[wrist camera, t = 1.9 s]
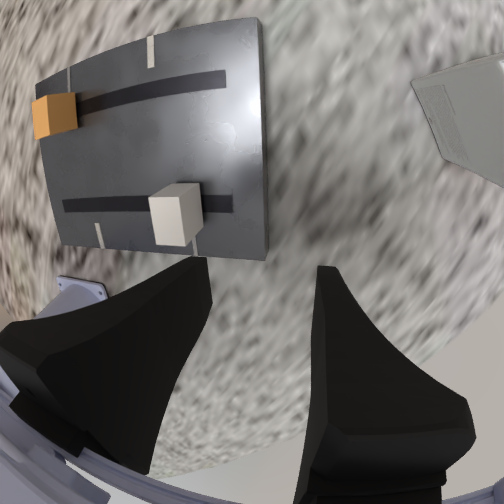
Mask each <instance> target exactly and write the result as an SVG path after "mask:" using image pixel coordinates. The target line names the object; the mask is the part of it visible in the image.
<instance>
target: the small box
mask: <svg viewBox="0 0 504 504" xmlns="http://www.w3.org/2000/svg"><path fill="white" fill-rule="evenodd" d="M411 85H412V86H413V88H414V90H415V92H416V94H417V97H418V99H419V101H420V103H421V105H422V107H423V110H424V112H425V114H426V117H427V119H428V121H429V124H430V126H431V129H432V131H433V134H434V136H435V139H436V141H437V144H438V147H439V149H440V152H441V155H442V158H443V159H445V160H448V161H450V162H452V163H454V164H457V165H459V166H461V167H463V168H465V169H467V170H469V171H472V172H474V173H476V174H478V175H480V176H481V177H483V178H485V179H487V180H489V181H491V182H493V183H495V184H497V185H499V186H500V187H502V188H504V52H503V53H498V54H494V55H490V56H486V57H483V58H479V59H476V60H472V61H469V62H466V63H463V64H460V65H456V66H453V67H450V68H447V69H444V70H441V71H438V72H435V73H432V74H430V75H427V76H424V77H421V78H419V79H416V80H413V81H411Z"/></svg>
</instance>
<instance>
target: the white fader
mask: <svg viewBox="0 0 504 504" xmlns="http://www.w3.org/2000/svg"><path fill="white" fill-rule="evenodd" d="M148 199H149V205H150V211H151V217H152V223H153V229H154V234H155V240H156V245H170V246H185V247H186V246H187V244H188V243H189V242H190V241H191V240H192V239H193V238H194V237H195V236H196V234H197V233H198V232H199V231H200V230H201V229H202V228H203V227H204V225H203V215H202V206H201V196H200V186H199V183H177V184H170V185H168V186H167V187H165V188H163V189H162V190H160V191H158V192H157V193H155V194H153V195H152V196H150V197H148Z"/></svg>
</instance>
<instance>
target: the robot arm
mask: <svg viewBox="0 0 504 504" xmlns="http://www.w3.org/2000/svg"><path fill="white" fill-rule="evenodd" d="M56 280H57V283H58V285H59V288H60V290H61V293H60V294H59V295H58V296H57V297H56V298H55V299H54V300H52V301H51V302H50V303H49V304H48V305H47V306H46V307H45V308H44V309H43V310H42V311H41V312H40V313H39V314H38V315H37V316H36V317H35V318H34V319H32V320H24V321H16V322H12V323H10V324H9V325H7V326H6V327H5V328H4V329H3V330H2V331H1V332H0V504H107V503H108V501H109V499H110V497H111V496H110V494H109V493H107V492H105V491H104V490H102V489H100V488H99V487H97V486H96V485H94V484H92V483H91V482H90V481H88V480H87V479H85V478H84V477H83V476H81V475H80V474H79V473H78V472H76V471H75V470H73V469H72V468H70V467H69V466H67V465H66V461H65V459H66V460H67V461H69V462H70V463H72V464H74V465H75V466H77V467H79V468H80V469H82V470H84V471H86V472H87V473H89V474H91V475H92V476H94V477H96V478H98V479H100V480H102V481H104V482H105V483H107V484H109V485H111V486H113V487H115V488H117V489H119V490H122V491H124V492H126V493H128V494H130V495H132V496H135V497H137V498H139V499H142V500H144V501H146V502H149V503H152V504H241V503H235V502H231V501H226V500H221V499H217V498H213V497H209V496H205V495H201V494H198V493H194V492H191V491H188V490H184V489H181V488H178V487H174V486H172V485H169V484H166V483H163V482H160V481H158V480H155V479H152V478H150V477H147V476H145V475H147V474H149V470H150V465H151V461H152V456H153V452H154V448H155V444H156V440H157V437H158V433H159V430H160V426H161V423H162V420H163V417H164V414H165V411H166V408H167V405H168V402H169V399H170V396H171V394H172V391H173V388H174V386H175V383H176V380H177V378H178V376H179V374H180V372H181V370H182V368H183V366H184V364H185V362H186V360H187V358H188V357H189V355H190V353H191V351H192V349H193V347H194V345H195V343H196V342H197V340H198V338H199V336H200V334H201V332H202V330H203V328H204V326H205V324H206V321H207V318H208V315H209V313H210V310H211V307H212V304H213V302H212V295H211V288H210V280H209V273H208V265H207V257H195V256H190V257H188V258H186V259H184V260H182V261H180V262H178V263H176V264H174V265H172V266H170V267H169V268H167V269H165V270H163V271H161V272H160V273H158V274H156V275H154V276H152V277H151V278H149V279H147V280H145V281H143V282H141V283H139V284H137V285H135V286H133V287H131V288H129V289H127V290H126V291H123V292H121V293H119V294H117V295H115V296H112V297H110V298H108V297H107V294H106V291H105V288H104V286H103V285H102V284H99V283H94V282H88V281H83V280H78V279H72V278H67V277H62V276H58V277H57V278H56ZM475 439H476V434H475V429H474V423H473V419H472V414H471V411H470V408H469V405H468V402H467V400H466V399H465V398H464V397H462V396H460V395H459V394H457V393H456V392H454V391H452V390H451V389H449V388H447V387H446V386H444V385H443V384H441V383H439V382H438V381H436V380H435V379H433V378H432V377H431V376H429V375H428V374H427V373H425V372H424V371H423V370H421V369H420V368H419V367H417V366H416V365H415V364H414V363H413V362H411V361H410V360H409V359H408V358H407V357H405V356H404V355H403V354H402V353H401V352H400V351H399V350H398V349H397V348H395V347H394V346H393V345H392V344H391V343H390V342H389V341H388V340H387V339H386V338H385V337H384V335H383V334H382V333H381V332H380V331H379V330H378V329H377V328H376V327H375V325H374V324H373V323H372V322H371V320H370V319H369V318H368V316H367V315H366V314H365V313H364V311H363V310H362V308H361V307H360V306H359V304H358V303H357V301H356V300H355V298H354V297H353V295H352V294H351V292H350V290H349V289H348V287H347V285H346V284H345V282H344V280H343V278H342V276H341V274H340V272H339V270H338V269H337V268H336V267H333V266H318V267H317V279H316V289H315V299H314V309H313V319H312V330H311V398H310V408H309V416H308V423H307V430H306V437H305V443H304V449H303V455H302V461H301V466H300V472H299V477H298V482H297V487H296V492H295V496H294V501H293V504H504V477H503V478H502V479H500V480H499V481H498V482H496V483H495V484H494V485H493V486H490V487H487V488H484V489H481V490H478V491H475V492H472V493H469V494H465V495H462V496H458V497H454V498H450V499H446V500H442V495H441V486H443V485H445V484H446V481H447V479H446V470H447V469H448V468H449V467H450V466H451V465H453V464H454V463H455V462H456V461H458V460H459V459H460V458H461V457H463V456H464V455H465V454H466V453H467V451H469V450H470V449H471V447H472V446H473V444H474V442H475Z"/></svg>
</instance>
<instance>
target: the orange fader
mask: <svg viewBox="0 0 504 504" xmlns="http://www.w3.org/2000/svg"><path fill="white" fill-rule="evenodd" d="M32 112H33V124H34V134H35V140H37V139H41V138H44V137H48V136H52V135H55V134H59V133H63V132H66V131H70V130H73V129H77V128H78V126H77V115H76V103H75V92H70V93H60V94H51V95H46V96H44V97H42V98H40V99H38V100H36V101H34V102H32Z"/></svg>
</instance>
